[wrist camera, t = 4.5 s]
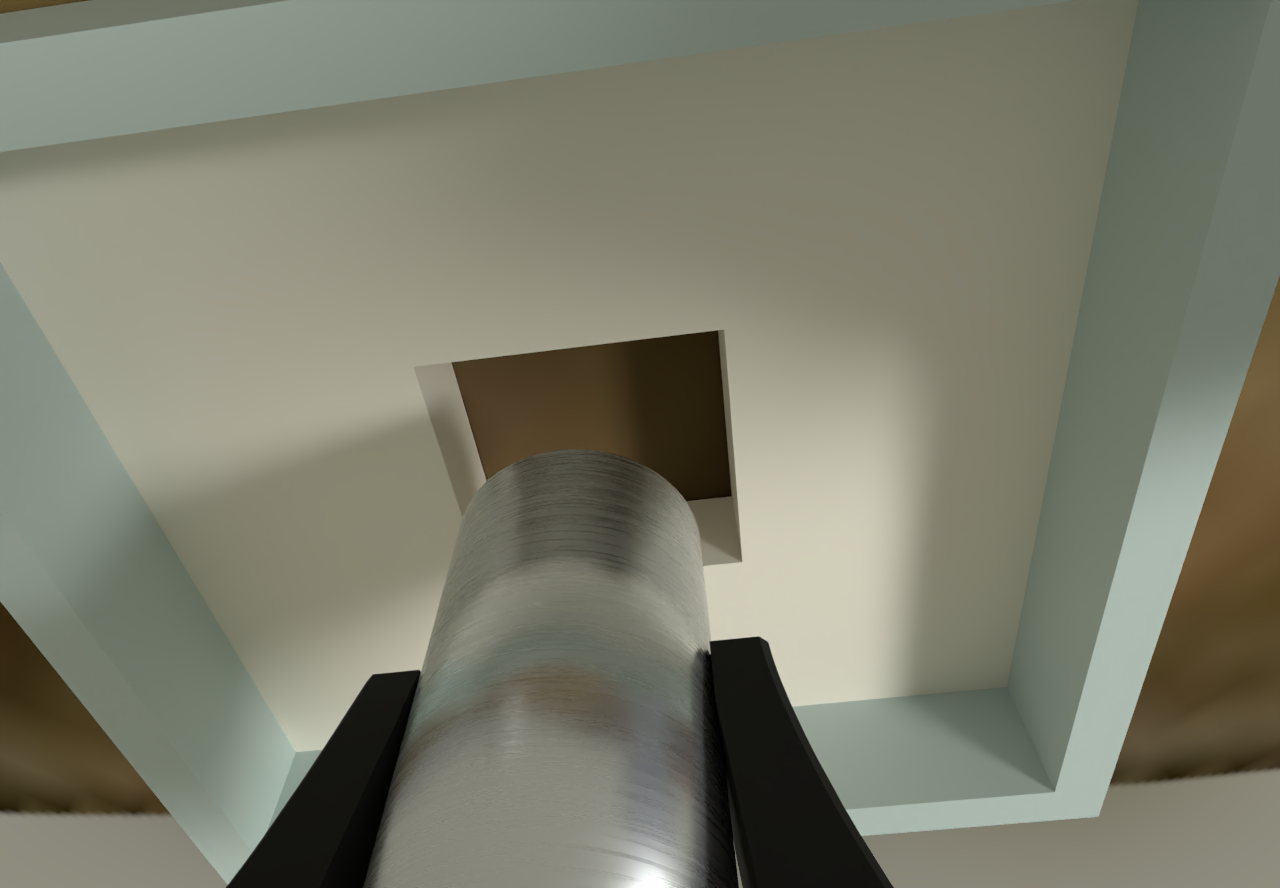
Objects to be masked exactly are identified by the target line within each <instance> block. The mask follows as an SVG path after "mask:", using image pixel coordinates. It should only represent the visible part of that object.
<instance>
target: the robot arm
mask: <svg viewBox="0 0 1280 888" xmlns="http://www.w3.org/2000/svg"><path fill="white" fill-rule="evenodd" d="M709 642H710V651H711V661H712V671H713V680H714V690H715V699H716V707H717V716H718V724H719V729H720V734H721V740H722V746H723V753H724V759H725V768H726V777H727V787H728V796H729V805H730V814H731V823H732V832H733V841H734V846H735V851H736V855H737V861H738V866H739V870H740V876H741V881H742V886H743V888H893V886H892V885H891V883H890V881H889V880H888V878H887V877H886V875H885V874H884V872H883V870H882V869H881V867H880V865H879V864H878V862H877V861H876V859H875V857H874V856H873V854H872V853H871V851H870V849H869V848H868V846H867V845H866V843H865V842H864V840H863V838H862V837H861V835H860V833H859V831H858V830H857V828H856V826H855V825H854V823H853V821H852V820H851V818H850V816H849V814H848V813H847V811H846V809H845V808H844V806H843V804H842V802H841V800H840V799H839V797H838V795H837V793H836V791H835V789H834V788H833V786H832V784H831V782H830V780H829V779H828V777H827V775H826V773H825V771H824V769H823V768H822V766H821V764H820V762H819V760H818V759H817V757H816V755H815V753H814V751H813V749H812V747H811V745H810V743H809V741H808V739H807V737H806V735H805V733H804V731H803V729H802V726H801V724H800V722H799V720H798V718H797V716H796V714H795V712H794V709H793V707H792V705H791V703H790V700H789V698H788V696H787V693H786V691H785V689H784V686H783V684H782V681H781V679H780V676H779V674H778V671H777V668H776V665H775V662H774V660H773V657H772V653H771V650H770V646H769V643H768V642H767V641H766V640H764V639H763V638H761V637H759V636H757V637H747V638H737V639H727V640H717V641H709ZM420 674H421V672H420V670H412V671H402V672H392V673H382V674H373V675H372V676H371V677H370V678H369V679H368V681H367V682H366V683H365V685H364V686H363V688H362V689H361V691H360V693H359V694H358V696H357V697H356V699H355V700H354V702H353V703H352V705H351V706H350V708H349V710H348V711H347V713H346V714H345V716H344V717H343V719H342V720H341V722H340V724H339V725H338V727H337V728H336V730H335V731H334V733H333V734H332V736H331V737H330V739H329V741H328V742H327V744H326V745H325V747H324V748H323V750H322V751H321V753H320V754H319V756H318V757H317V759H316V760H315V762H314V763H313V765H312V766H311V768H310V769H309V771H308V772H307V774H306V775H305V777H304V778H303V780H302V781H301V783H300V784H299V786H298V787H297V789H296V790H295V792H294V793H293V794H292V796H291V797H290V799H289V800H288V802H287V803H286V805H285V806H284V808H283V809H282V810H281V812H280V813H279V815H278V816H277V818H276V819H275V821H274V822H273V823H272V825H271V826H270V828H269V829H268V831H267V832H266V834H265V835H264V836H263V838H262V839H261V841H260V842H259V844H258V845H257V846H256V848H255V849H254V851H253V852H252V853H251V855H250V856H249V857H248V859H247V860H246V862H245V863H244V864H243V866H242V867H241V868H240V870H239V871H238V872H237V874H236V875H235V876H234V878H233V879H232V880H231V882H230V883H229V884H228V886H227V887H226V888H363V886H364V882H365V878H366V874H367V871H368V867H369V863H370V860H371V856H372V852H373V848H374V845H375V841H376V837H377V833H378V830H379V826H380V822H381V819H382V815H383V811H384V807H385V804H386V800H387V796H388V793H389V789H390V785H391V781H392V778H393V774H394V770H395V767H396V763H397V759H398V755H399V752H400V748H401V744H402V741H403V737H404V733H405V729H406V726H407V722H408V718H409V715H410V711H411V707H412V703H413V700H414V696H415V692H416V689H417V685H418V681H419V677H420Z"/></svg>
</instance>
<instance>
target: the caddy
mask: <svg viewBox="0 0 1280 888" xmlns="http://www.w3.org/2000/svg"><path fill="white" fill-rule="evenodd" d="M1279 276H1280V0H88V1H82V2H75V3H69V4H62V5H55V6H49V7H42V8H36V9H29V10H22V11H16V12H9V13H3V14H0V602H1V603H2V604H3V605H4V607H5V608H6V609H7V610H8V612H9V613H10V614H11V615H12V617H13V618H14V619H15V620H16V622H17V623H18V624H19V625H20V627H21V628H22V629H23V630H24V632H25V633H26V634H27V635H28V637H29V638H30V639H31V640H32V642H33V643H34V644H35V645H36V647H37V648H38V649H39V650H40V652H41V653H42V654H43V655H44V657H45V658H46V659H47V660H48V662H49V663H50V664H51V665H52V666H53V668H54V669H55V670H56V671H57V673H58V674H59V675H60V676H61V678H62V679H63V680H64V681H65V683H66V684H67V685H68V686H69V688H70V689H71V690H72V691H73V693H74V694H75V695H76V696H77V698H78V699H79V700H80V701H81V703H82V704H83V705H84V706H85V708H86V709H87V710H88V711H89V713H90V714H91V715H92V716H93V718H94V719H95V720H96V721H97V723H98V724H99V725H100V726H101V728H102V729H103V730H104V731H105V733H106V734H107V735H108V736H109V738H110V739H111V740H112V741H113V743H114V744H115V745H116V746H117V748H118V749H119V750H120V751H121V753H122V754H123V755H124V756H125V758H126V759H127V760H128V761H129V762H130V764H131V765H132V766H133V767H134V769H135V770H136V771H137V772H138V774H139V775H140V776H141V777H142V779H143V780H144V781H145V782H146V784H147V785H148V786H149V787H150V789H151V790H152V791H153V792H154V794H155V795H156V796H157V797H158V799H159V800H160V801H161V802H162V804H163V805H164V806H165V807H166V809H167V810H168V811H169V812H170V814H171V815H172V816H173V817H174V819H175V820H176V821H177V822H178V823H179V825H180V826H181V827H182V829H183V830H184V831H185V832H186V833H187V835H188V836H189V837H190V838H191V840H192V841H193V842H194V843H195V845H196V846H197V847H198V849H199V850H200V851H201V852H202V853H203V855H204V856H205V857H206V858H207V860H208V861H209V862H210V863H211V865H212V866H213V867H214V868H215V869H216V871H217V872H218V873H219V875H220V876H221V877H222V878H223V880H224V881H225V882H226V883H227V885H228V884H229V883H230V882H231V880H232V879H233V878H234V876H235V875H236V874H237V872H238V871H239V870H240V868H241V867H242V866H243V864H244V863H245V862H246V860H247V859H248V857H249V856H250V855H251V853H252V852H253V851H254V849H255V848H256V846H257V845H258V844H259V842H260V841H261V839H262V838H263V836H264V835H265V834H266V832H267V831H268V829H269V828H270V826H271V825H272V823H273V822H274V821H275V819H276V818H277V816H278V815H279V813H280V812H281V810H282V809H283V808H284V806H285V805H286V803H287V802H288V800H289V799H290V797H291V796H292V794H293V793H294V792H295V790H296V789H297V787H298V786H299V784H300V783H301V781H302V780H303V778H304V777H305V775H306V774H307V772H308V771H309V769H310V768H311V766H312V765H313V763H314V762H315V760H316V759H317V757H318V756H319V754H320V753H321V751H322V750H323V748H324V747H325V745H326V744H327V742H328V741H329V739H330V737H331V736H332V734H333V733H334V731H335V730H336V728H337V727H338V725H339V724H340V722H341V720H342V719H343V717H344V716H345V714H346V713H347V711H348V710H349V708H350V706H351V705H352V703H353V702H354V700H355V699H356V697H357V696H358V694H359V693H360V691H361V689H362V688H363V686H364V685H365V683H366V682H367V681H368V679H369V678H370V677H371V676H372V675H373V674H382V673H392V672H402V671H412V670H420V672H421V670H422V666H423V663H424V659H425V655H426V651H427V648H428V644H429V640H430V637H431V633H432V629H433V625H434V622H435V618H436V614H437V611H438V607H439V603H440V599H441V596H442V592H443V588H444V585H445V581H446V577H447V573H448V570H449V566H450V562H451V559H452V555H453V551H454V547H455V544H456V540H457V536H458V533H459V529H460V525H461V522H462V519H463V515H464V512H465V510H466V508H467V506H468V504H469V502H470V500H471V499H472V498H473V496H474V495H475V494H476V492H477V491H478V490H479V489H480V488H481V487H482V486H483V485H484V483H485V482H486V478H485V474H484V471H483V468H482V464H481V461H480V458H479V454H478V451H477V447H476V444H475V441H474V437H473V434H472V430H471V427H470V424H469V420H468V417H467V414H466V410H465V407H464V403H463V400H462V397H461V393H460V390H459V386H458V383H457V380H456V376H455V373H454V370H453V366H452V363H451V362H458V361H466V360H474V359H483V358H491V357H499V356H508V355H516V354H524V353H533V352H541V351H549V350H558V349H566V348H574V347H583V346H591V345H599V344H608V343H616V342H624V341H633V340H641V339H649V338H658V337H666V336H674V335H683V334H691V333H699V332H708V331H716V330H718V337H719V349H720V361H721V374H722V386H723V398H724V410H725V422H726V434H727V446H728V458H729V470H730V482H731V494H732V496H730V497H721V498H711V499H702V500H693V501H686V502H687V503H688V505H689V507H690V509H691V510H692V512H693V514H694V517H695V519H696V522H697V525H698V529H699V535H700V542H701V551H702V560H703V569H704V578H705V587H706V596H707V605H708V614H709V623H710V632H711V641H717V640H727V639H737V638H747V637H757V636H759V637H761V638H763V639H764V640H766V641H767V642H768V643H769V646H770V650H771V653H772V657H773V660H774V662H775V665H776V668H777V671H778V674H779V676H780V679H781V681H782V684H783V686H784V689H785V691H786V693H787V696H788V698H789V700H790V703H791V705H792V707H793V709H794V712H795V714H796V716H797V718H798V720H799V722H800V724H801V726H802V729H803V731H804V733H805V735H806V737H807V739H808V741H809V743H810V745H811V747H812V749H813V751H814V753H815V755H816V757H817V759H818V760H819V762H820V764H821V766H822V768H823V769H824V771H825V773H826V775H827V777H828V779H829V780H830V782H831V784H832V786H833V788H834V789H835V791H836V793H837V795H838V797H839V799H840V800H841V802H842V804H843V806H844V808H845V809H846V811H847V813H848V814H849V816H850V818H851V820H852V821H853V823H854V825H855V826H856V828H857V830H858V831H859V833H860V835H861V836H866V835H878V834H890V833H903V832H915V831H927V830H939V829H952V828H964V827H976V826H988V825H1001V824H1013V823H1026V822H1037V821H1050V820H1062V819H1074V818H1087V817H1098V816H1099V813H1100V810H1101V807H1102V804H1103V801H1104V798H1105V795H1106V792H1107V789H1108V786H1109V783H1110V781H1111V778H1112V775H1113V772H1114V769H1115V766H1116V763H1117V760H1118V757H1119V754H1120V751H1121V748H1122V745H1123V742H1124V739H1125V736H1126V733H1127V730H1128V727H1129V724H1130V721H1131V718H1132V715H1133V712H1134V709H1135V706H1136V703H1137V700H1138V697H1139V694H1140V691H1141V688H1142V685H1143V682H1144V679H1145V676H1146V673H1147V670H1148V667H1149V664H1150V661H1151V658H1152V655H1153V652H1154V649H1155V646H1156V643H1157V640H1158V637H1159V634H1160V631H1161V628H1162V625H1163V622H1164V619H1165V616H1166V613H1167V610H1168V607H1169V604H1170V601H1171V598H1172V595H1173V592H1174V589H1175V586H1176V583H1177V580H1178V577H1179V574H1180V571H1181V568H1182V565H1183V562H1184V559H1185V556H1186V553H1187V550H1188V547H1189V544H1190V541H1191V538H1192V536H1193V533H1194V530H1195V527H1196V524H1197V521H1198V518H1199V515H1200V512H1201V509H1202V506H1203V503H1204V500H1205V497H1206V494H1207V491H1208V488H1209V485H1210V482H1211V479H1212V476H1213V473H1214V470H1215V467H1216V464H1217V461H1218V458H1219V455H1220V452H1221V449H1222V446H1223V443H1224V440H1225V437H1226V434H1227V431H1228V428H1229V425H1230V422H1231V419H1232V416H1233V413H1234V410H1235V407H1236V404H1237V401H1238V398H1239V395H1240V392H1241V389H1242V386H1243V383H1244V380H1245V377H1246V374H1247V371H1248V368H1249V365H1250V362H1251V359H1252V356H1253V353H1254V350H1255V347H1256V344H1257V341H1258V338H1259V335H1260V332H1261V329H1262V326H1263V323H1264V320H1265V317H1266V314H1267V311H1268V308H1269V305H1270V302H1271V299H1272V296H1273V293H1274V290H1275V288H1276V285H1277V282H1278V279H1279Z"/></svg>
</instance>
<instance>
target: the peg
mask: <svg viewBox="0 0 1280 888" xmlns="http://www.w3.org/2000/svg"><path fill="white" fill-rule="evenodd" d="M709 641H711V632H710V623H709V614H708V605H707V596H706V587H705V578H704V569H703V560H702V551H701V542H700V535H699V529H698V525H697V522H696V519H695V517H694V514H693V512H692V510H691V509H690V507H689V505H688V503H687V502H686V500H685V499H684V498H683V496H682V495H681V494H680V493H679V491H678V490H677V489H676V488H675V487H674V486H673V485H672V484H671V483H670V482H668V481H667V480H666V479H665V478H663V477H662V476H661V475H659V474H658V473H657V472H655V471H653V470H651V469H650V468H648V467H646V466H644V465H643V464H640V463H638V462H635V461H633V460H631V459H628V458H625V457H622V456H618V455H615V454H612V453H606V452H600V451H594V450H579V449H576V450H559V451H552V452H546V453H542V454H538V455H534V456H531V457H527V458H525V459H523V460H520V461H518V462H515V463H513V464H511V465H509V466H508V467H506V468H504V469H502V470H501V471H499V472H498V473H496V474H495V475H494V476H492V477H491V478H490V479H489V480H487V481H486V482H485V483H484V485H483V486H482V487H481V488H480V489H479V490H478V491H477V492H476V494H475V495H474V496H473V498H472V499H471V500H470V502H469V504H468V506H467V508H466V510H465V512H464V515H463V519H462V522H461V525H460V529H459V533H458V536H457V540H456V544H455V547H454V551H453V555H452V559H451V562H450V566H449V570H448V573H447V577H446V581H445V585H444V588H443V592H442V596H441V599H440V603H439V607H438V611H437V614H436V618H435V622H434V625H433V629H432V633H431V637H430V640H429V644H428V648H427V651H426V655H425V659H424V663H423V666H422V670H421V674H420V677H419V681H418V685H417V689H416V692H415V696H414V700H413V703H412V707H411V711H410V715H409V718H408V722H407V726H406V729H405V733H404V737H403V741H402V744H401V748H400V752H399V755H398V759H397V763H396V767H395V770H394V774H393V778H392V781H391V785H390V789H389V793H388V796H387V800H386V804H385V807H384V811H383V815H382V819H381V822H380V826H379V830H378V833H377V837H376V841H375V845H374V848H373V852H372V856H371V860H370V863H369V867H368V871H367V874H366V878H365V882H364V886H363V888H739V887H738V877H737V869H736V859H735V850H734V841H733V832H732V823H731V814H730V805H729V796H728V787H727V777H726V768H725V759H724V753H723V746H722V740H721V734H720V729H719V724H718V716H717V707H716V699H715V690H714V680H713V671H712V661H711V651H710V642H709Z"/></svg>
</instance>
